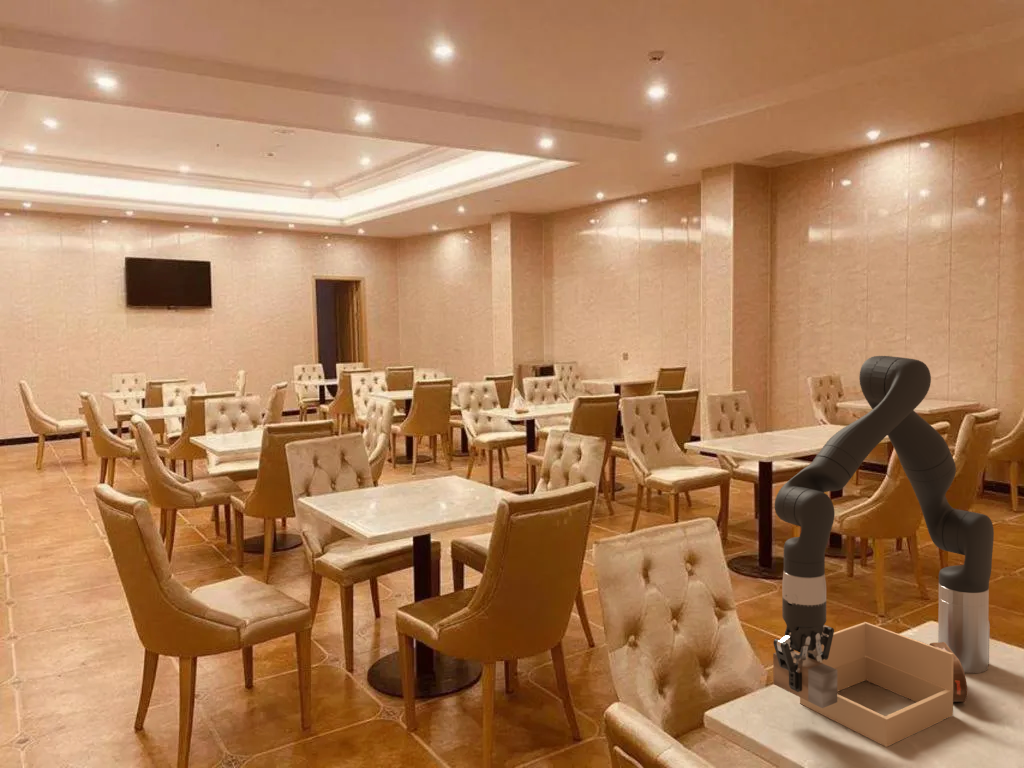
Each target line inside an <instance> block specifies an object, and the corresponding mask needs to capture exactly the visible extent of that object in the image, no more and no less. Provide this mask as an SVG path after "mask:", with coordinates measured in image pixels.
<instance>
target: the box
mask: <svg viewBox="0 0 1024 768" xmlns="http://www.w3.org/2000/svg"><path fill="white" fill-rule="evenodd" d="M794 652H796V653H798V654H800V652H798V651H795V650H794ZM772 655H773V658H772V659H773V663H772V665H773V666H772V667H773V672H772V673H773V678H772V679H773V685H774V686H777V687H779V688H781V689H782V690H785V691H787V692H789V693H791V694H793V695H794V696H797V697H799V698H800V697H801V698H803V699H805V700H807V701H809V702H811V703H813V704H815V705H817V706H819V707H821V708H824V707H827V706H829V705H832V704H834V703H837V694H838V691H837V669H834V668H832V667H830V666H827V665H825V664H823V663H821V662H818V661H816V660H814V659H811V658H809V657H807V656H806V660H804V661H803V664H802V670H801V672H802V691H800V692H797V691H795V690H793V689H791V688H790V686H789V671H788V670H786V669H784V668H781V667H780V665H779V662H778V658H777V654H776V652H774V653H773V654H772ZM796 661H797V660H796V658H794V662H793V663H794V664H796Z"/></svg>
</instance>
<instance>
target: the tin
mask: <svg viewBox="0 0 1024 768" xmlns="http://www.w3.org/2000/svg"><path fill="white" fill-rule="evenodd" d="M928 645H931V646H934V647H936V648H939V649H942V650H945V651H948V652H950V653H953V652H952V651H951V649H950V648H949V647H948V646H947V644H946V643H945V642H940V643H938V642H931V643H929V644H928ZM953 654H954V653H953ZM967 698H968V684H967V677H966V672H964V670H963V667H962V665H961V663H960V661H959V659H958V658H957V657H956V656H955V654H954V655H953V703H955V702H956V703H957V702H958V703H966V701H967Z"/></svg>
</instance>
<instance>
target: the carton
mask: <svg viewBox="0 0 1024 768" xmlns="http://www.w3.org/2000/svg"><path fill="white" fill-rule="evenodd" d="M821 648H822V651H823V650H824V645H821ZM953 655H954V654H953V653H950V652H948V651H945V650H942V649H939V648H936V647H934V646H931V645H929V644H927V643H924V642H921V641H919V640H918V639H917V640H916V639H914V638H910V637H908V636H906V635H903V634H900V633H897V632H894V631H892V630H890V629H886V628H884V627H881V626H877V625H875V624H872V623H870V622H866V621H863V622H861V623H858V624H855V625H852V626H849V627H847V628H843V629H840V630H839V631H834V634H833V638H832V643H831V648H830V652H829V657H828V659H827V660H825V659H824V660H822V663H823V664H825V665H827V666H830V667H832V668H834V669H837V692H840V691H842V690H845V689H847V688H849V687H852V686H855V685H857V684H860V683H862V682H866V681H867V682H868V683H871V684H874V685H876V686H878V687H881V688H882V689H886V690H887V691H891V692H893V693H895V694H897V695H900V696H902V697H904V698H906V699H908V698H909V699H908V700H910V699H911V700H910V701H912V702H913V701H914V703H912V704H910V705H907V706H905V707H904V708H901V709H898V710H897V711H893V712H892V713H889V714H887V715H884V714H881V713H879V712H877V711H875V710H872V709H871V708H868V707H866V706H864V705H862V704H860V703H858V702H856V701H855V700H854V701H853V700H851V699H849V698H847V697H845V696H843V695H841V694H838V693H837V703H834V704H832V705H829V706H827V707H824V708H821V707H819V706H817V705H815V704H813V703H811V702H809V701H807V700H805V699H803V698H801V697H799V704H801V705H802V706H804V707H807V708H808V709H810V710H812V711H814V712H816V713H818V714H820V715H822V716H824V717H826V718H828V719H831V720H832V721H833V722H837V723H838V724H840V725H842V726H844V727H846V728H848V729H850V730H851V731H854V732H856V733H858V734H859V735H862V736H864V737H866V738H868V739H870V740H872V741H874V742H876V743H878V744H880V745H882V746H883V747H886V748H888V747H889V746H891V745H894V744H896V743H898V742H900V741H902V740H905V739H906V738H909V737H911V736H912V735H915V734H916V733H919V732H921V731H922V730H923V731H924V730H926V729H927V728H930V727H932V726H934V725H935V724H937V723H940V722H942V721H944V720H943V719H945V720H947V719H949V718H951V717H952V716H954V713H953V712H954V702H953ZM950 716H951V717H950ZM948 717H949V718H948ZM946 718H947V719H946Z"/></svg>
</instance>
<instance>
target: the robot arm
mask: <svg viewBox="0 0 1024 768" xmlns="http://www.w3.org/2000/svg"><path fill="white" fill-rule="evenodd" d="M858 376H859V385H860V388H861V389H860V390H861V392H862V394H863V396H864V398H865V400H866V402H867V403H868V405H869V406H870V408H871V410H870V411H868V412H867V413H866V414H864V415H863V416H861V417H859V418H858V419H856V420H854V421H853V422H851V423H850V424H849V423H848V425H846V426H844V427H843V428H841V429H840V430H838V431H837V432H836V433H835V434H833V435H832V436H830V438H829V439H828V440H827V441H826V442H825V444H824V445H823V446H822V448H821V449H820V450H819V452H818V453H817V454H816V456H815V457H814V458H813V460H812V461H811V463H810V464H809V465H807V466H806V467H804V468H802V469H801V470H800V471H799V472H798V473H797V474H795V475H794V476H793V477H791V478H790V479H789V480H788V481H786V482H785V483H784V484H783V485H782V486H781V487H780V489H779V490H778V493H777V494H776V496H775V499H774V511H775V514H776V516H777V517H778V518H779V519H780V520H781V521H783V522H785V523H788V524H790V525H794V526H798V527H800V528H801V529H800V534H799V536H796V537H795V536H794V537H791V538H788V539H786V541H785V542H784V545H783V575H782V582H781V583H782V584H781V585H782V588H781V589H782V590H781V591H782V592H781V594H782V597H781V598H782V599H781V600H782V603H781V604H782V605H781V607H782V619H783V621H784V623H785V624H786V626H785V627H786V628H785V632H784V636H783V637H782V638H781V639H779V638H775V639H774V640H773V641H772V642H773V646H774V647H773V648H774V650H775V653H776V654H777V658H778V662H779V665H780V667H781V668H784V669H786V670H788V671H789V686H790V688H791V689H793V690H795V691H797V692H800V691H802V672H801V670H802V664H803V661H804V660H806V656H807V657H809V658H811V659H814V660H816V661H818V662H821V663H822V660H824V659H825V660H827V659H828V657H829V652H830V648H831V643H832V638H833V634H834V633H835V629H834V628H833V627H831V626H829V625H826V623H827V581H826V573H825V568H826V567H825V565H826V564H825V563H826V561H825V560H826V559H825V552H826V548H827V545H828V542H829V538H830V535H831V533H832V528H833V525H834V522H835V516H836V515H835V513H836V512H835V506H834V503H833V501H832V499H831V497H830V495H828V494H827V492H836V491H837V492H838V491H841V490H843V489H844V487H846V485H847V484H848V483H849V482H850V480H851V479H852V477H853V476H854V474H855V473H857V471H858V469H860V468H859V467H861V465H862V463H863V462H864V461H865V460H866V459H867V457H868V456H869V455H870V454H871V452H872V451H873V450H874V449H875V448H876V446H878V445H879V444H880V442H882V441H883V440H884V439H885V438H886V437H888V439H889V441H890V443H891V444H892V446H893V448H894V450H895V452H896V455H897V457H898V460H899V463H900V465H901V467H902V469H903V472H904V474H905V475H906V478H907V479H908V481H909V483H910V484H911V487H912V489H913V492H914V494H915V496H916V499H917V501H918V503H919V505H920V508H921V513H922V515H923V518H924V522H925V524H926V525H925V526H926V528H927V531H928V534H929V537H930V540H931V541H932V543H933V544H934V546H935V547H937V548H938V549H940V550H941V551H945V552H949V553H952V554H957V555H962V556H964V562H963V564H959V565H949V566H945V567H943V568H941V569H940V570H939V572H938V626H937V627H938V628H937V629H938V630H937V631H938V633H937V634H938V635H937V636H938V637H937V643H940V642H945V643H946V644H947V646H948V647H949V648H950V649H951V651H952V652H953V653H954V654H955V656H956V657H957V658H958V659H959V661H960V663H961V665H962V667H963V670H964V673H965V674H966V673H967V674H968V673H969V674H975V673H976V674H977V673H979V674H980V673H983V672H985V671H987V670H988V665H989V663H990V630H991V629H990V626H991V624H990V620H989V609H990V608H989V605H990V604H989V602H990V601H989V600H990V599H989V598H990V597H989V595H990V594H989V593H990V591H989V589H990V579H991V574H992V566H993V565H992V563H993V551H994V536H995V531H994V529H995V528H994V525H993V521H992V519H991V518H990V517H989V516H988V515H986V514H984V513H980V512H974V511H970V510H969V511H968V510H963V509H959V508H954V507H953V506H952V505H950V503H949V502H948V498H947V497H946V495H947V492H948V491H949V489H950V487H951V486H952V483H953V482H954V479H955V477H956V472H957V467H956V462H955V460H954V457H953V455H952V452H951V450H950V448H949V446H948V444H947V442H946V440H945V439H944V437H943V436H942V435H941V434H940V432H938V431H937V430H936V429H935V428H934V427H933V426H932V424H930V423H928V422H927V421H926V420H925V419H924V418H923V417H921V416H920V415H919V414H918V413H917V412H916V411H915V410H916V409H917V407H918V406H919V405H920V404H921V403H922V402H923V401H924V399H925V398H926V396H927V395H928V393H929V390H930V387H931V382H932V379H931V378H932V377H931V372H930V368H929V367H928V366H927V364H926V363H924V362H923V361H921V360H919V359H915V358H914V359H913V358H908V357H899V356H892V355H891V356H890V355H874V356H871V357H868V358H867V359H866V360H865V361H864V362H863V364H862V365H861V367H860V371H859V375H858ZM821 645H824V650H823V651H822V648H821ZM794 651H795V652H794ZM796 652H798V653H800V654H798V653H796ZM794 658H796V660H797V661H796V664H794V663H793V662H794Z"/></svg>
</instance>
